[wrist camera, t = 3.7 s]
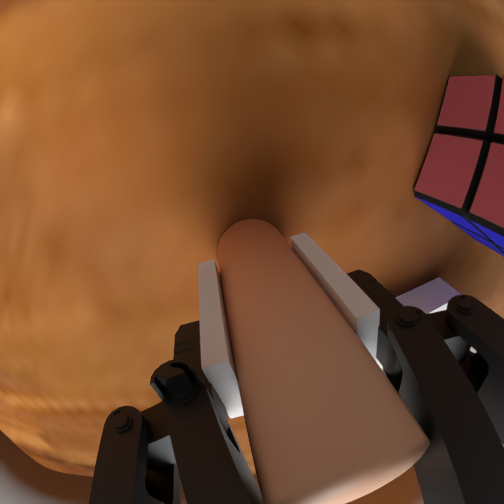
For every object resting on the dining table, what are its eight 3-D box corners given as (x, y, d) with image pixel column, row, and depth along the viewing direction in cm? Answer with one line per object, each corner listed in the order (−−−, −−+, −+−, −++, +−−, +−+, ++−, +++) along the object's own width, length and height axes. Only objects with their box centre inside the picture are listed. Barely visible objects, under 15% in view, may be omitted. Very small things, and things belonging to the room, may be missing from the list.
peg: (207, 230, 15) (244, 497, 3) (276, 210, 15) (451, 411, 3) (227, 289, 17) (280, 523, 5) (289, 271, 17) (410, 473, 5)
